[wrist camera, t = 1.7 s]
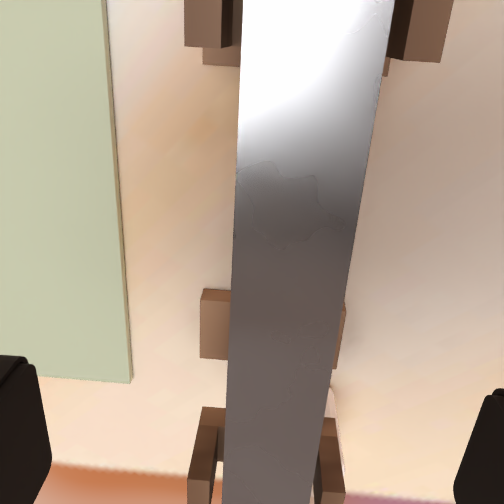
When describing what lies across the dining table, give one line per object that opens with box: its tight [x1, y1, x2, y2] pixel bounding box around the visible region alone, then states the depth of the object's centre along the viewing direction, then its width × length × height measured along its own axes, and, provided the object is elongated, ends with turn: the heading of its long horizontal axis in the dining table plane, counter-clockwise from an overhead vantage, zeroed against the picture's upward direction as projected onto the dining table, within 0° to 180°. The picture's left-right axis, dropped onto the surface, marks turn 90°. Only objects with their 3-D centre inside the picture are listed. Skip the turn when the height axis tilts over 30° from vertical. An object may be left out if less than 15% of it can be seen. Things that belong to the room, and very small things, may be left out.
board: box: [0, 0, 133, 384], centre depth 23 cm, size 9×26×1 cm, turn 177°
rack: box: [184, 0, 454, 504], centre depth 18 cm, size 8×20×12 cm, turn 177°
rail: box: [222, 0, 395, 504], centre depth 14 cm, size 22×3×3 cm, turn 177°
